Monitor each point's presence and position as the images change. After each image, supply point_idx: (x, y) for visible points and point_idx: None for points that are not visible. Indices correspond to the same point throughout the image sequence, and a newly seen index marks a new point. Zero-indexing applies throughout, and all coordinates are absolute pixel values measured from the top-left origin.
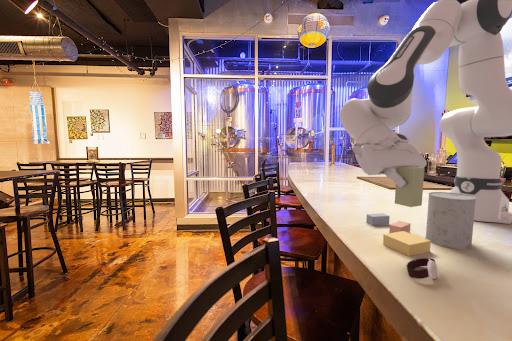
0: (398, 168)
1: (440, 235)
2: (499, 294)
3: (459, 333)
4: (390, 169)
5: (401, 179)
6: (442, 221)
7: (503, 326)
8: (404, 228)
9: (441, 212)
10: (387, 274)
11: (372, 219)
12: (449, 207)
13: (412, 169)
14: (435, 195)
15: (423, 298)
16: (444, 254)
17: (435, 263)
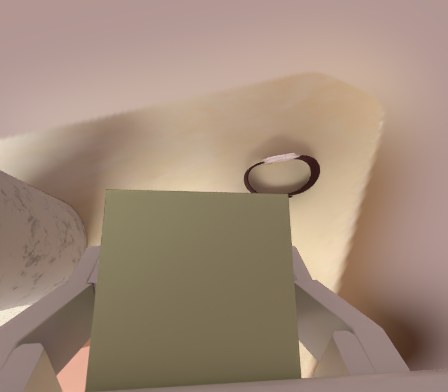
0: (295, 363)
1: (73, 238)
2: (229, 96)
3: (360, 93)
4: (401, 367)
5: (303, 269)
6: (51, 230)
7: (304, 75)
8: (89, 343)
9: (34, 230)
10: (337, 204)
11: None
12: (15, 200)
13: (284, 207)
14: None
15: (341, 140)
16: None
17: (268, 157)
